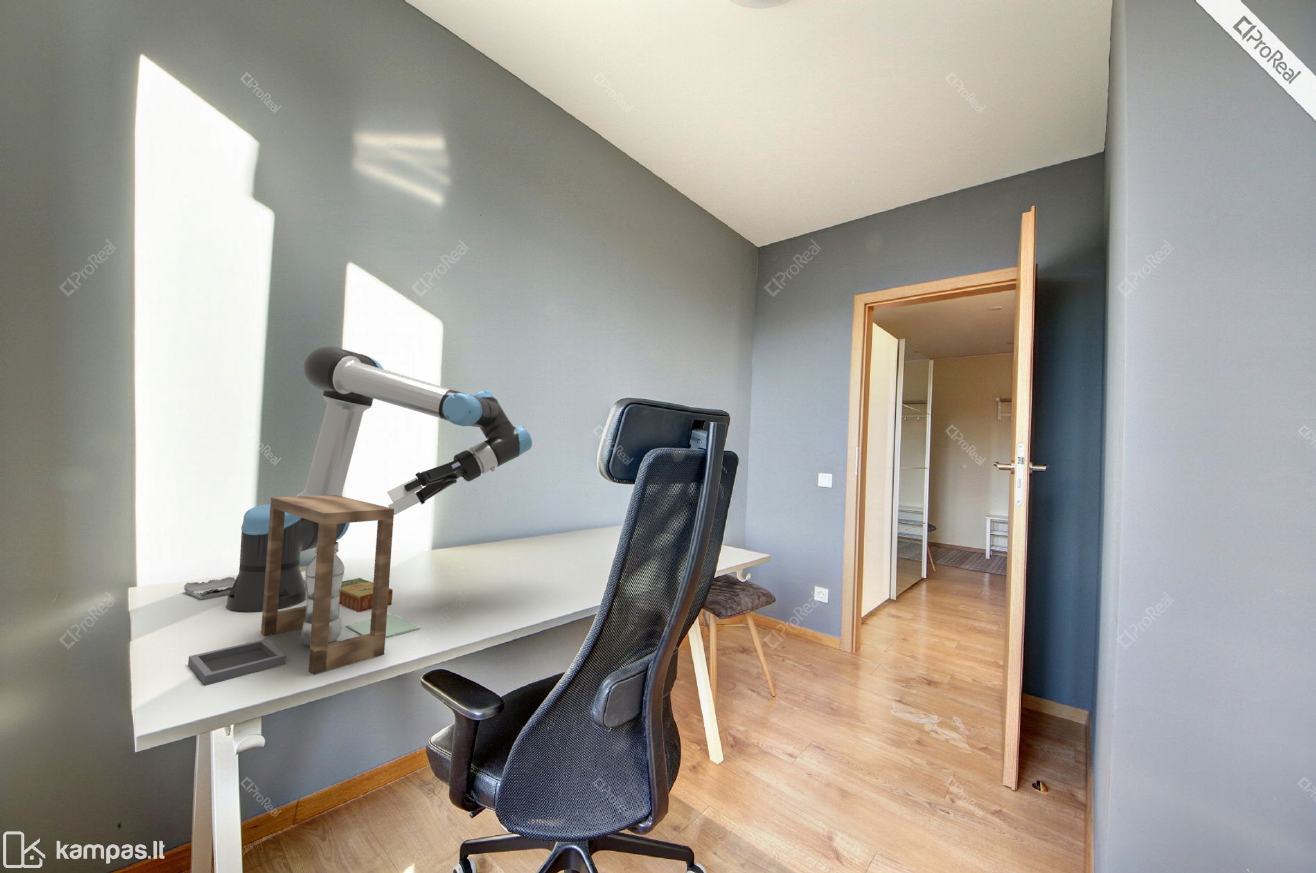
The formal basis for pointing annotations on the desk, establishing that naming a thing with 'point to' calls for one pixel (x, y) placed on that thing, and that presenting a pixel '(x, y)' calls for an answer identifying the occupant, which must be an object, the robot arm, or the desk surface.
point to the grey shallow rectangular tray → (235, 661)
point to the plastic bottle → (334, 607)
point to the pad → (393, 626)
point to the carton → (358, 594)
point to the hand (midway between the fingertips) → (390, 504)
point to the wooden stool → (328, 577)
